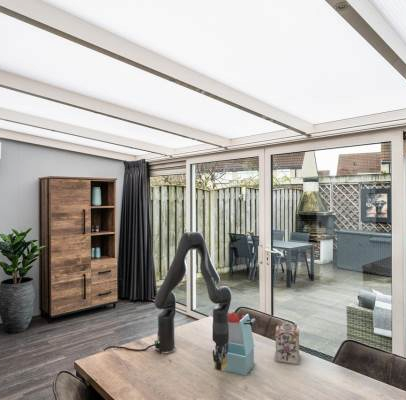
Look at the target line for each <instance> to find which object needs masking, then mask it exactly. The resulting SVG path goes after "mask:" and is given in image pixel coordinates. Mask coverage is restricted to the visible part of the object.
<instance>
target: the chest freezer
mask: <svg viewBox="0 0 406 400" xmlns="http://www.w3.org/2000/svg"><path fill="white" fill-rule="evenodd" d="M254 351H255V346H254V347H253V349H252V350H251V351H250V352H249V354H248V355H247V356H245V352H244V346H243V345H240V344H235V343H230V342H228V352H227V354H226V357H227V368H226V369H225V370H224V372H225V371H226V372H229V373H234V374H238V375H243V376H248V374H249V372H250V371H251V369H252V368H253V366H254V365H255V354H254V353H255V352H254ZM219 355H220V354H219Z"/></svg>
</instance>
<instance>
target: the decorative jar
mask: <svg viewBox="0 0 406 400" xmlns="http://www.w3.org/2000/svg"><path fill="white" fill-rule="evenodd" d="M274 336H275V361H276V362H277V363H284V364H291V365H299V364H300V330H299V328H298V327H297V326H294V325H292V323H289V322H283V323H282V324H280V325H279V324H278V325H277V326H275V334H274Z"/></svg>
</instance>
